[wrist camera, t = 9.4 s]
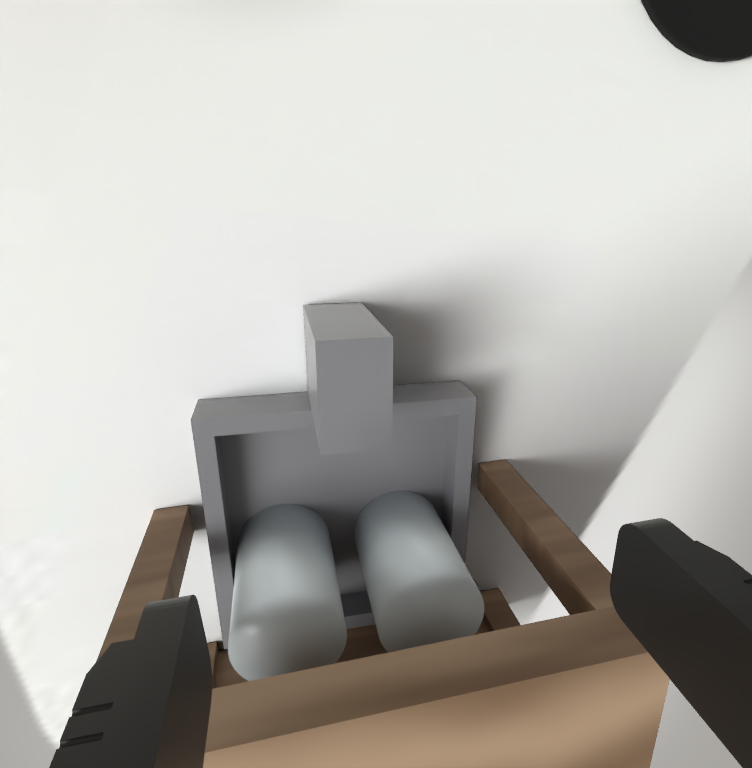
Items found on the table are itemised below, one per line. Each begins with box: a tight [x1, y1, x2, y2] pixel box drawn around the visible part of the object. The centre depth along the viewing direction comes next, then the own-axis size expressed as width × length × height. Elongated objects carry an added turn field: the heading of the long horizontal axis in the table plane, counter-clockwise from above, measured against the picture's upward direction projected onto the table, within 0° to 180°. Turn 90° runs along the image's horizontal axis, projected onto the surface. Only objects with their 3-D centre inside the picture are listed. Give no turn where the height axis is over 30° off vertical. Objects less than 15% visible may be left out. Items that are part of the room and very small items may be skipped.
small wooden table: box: [96, 460, 670, 768], centre depth 21 cm, size 10×17×12 cm, turn 93°
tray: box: [191, 303, 484, 681], centre depth 21 cm, size 16×12×7 cm
